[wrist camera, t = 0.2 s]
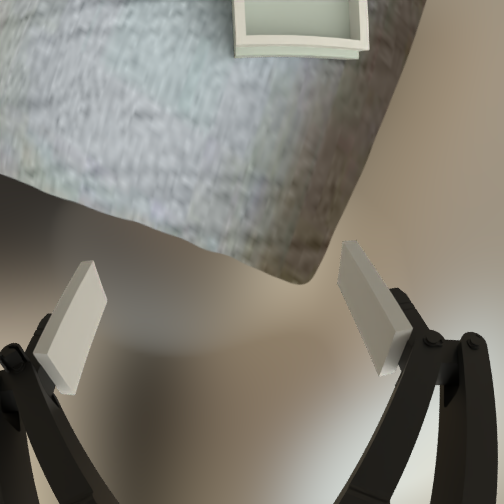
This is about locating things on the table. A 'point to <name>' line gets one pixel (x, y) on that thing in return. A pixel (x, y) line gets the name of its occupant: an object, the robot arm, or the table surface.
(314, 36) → the open storage box
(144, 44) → the table surface
